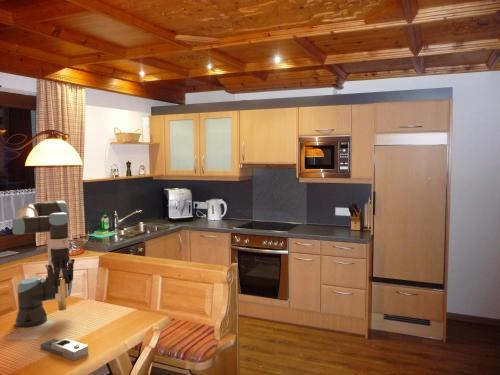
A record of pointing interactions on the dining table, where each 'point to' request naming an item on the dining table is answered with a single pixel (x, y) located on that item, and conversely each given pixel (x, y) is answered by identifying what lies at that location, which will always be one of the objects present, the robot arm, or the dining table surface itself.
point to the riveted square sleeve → (66, 348)
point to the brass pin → (62, 294)
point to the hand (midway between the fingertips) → (62, 298)
